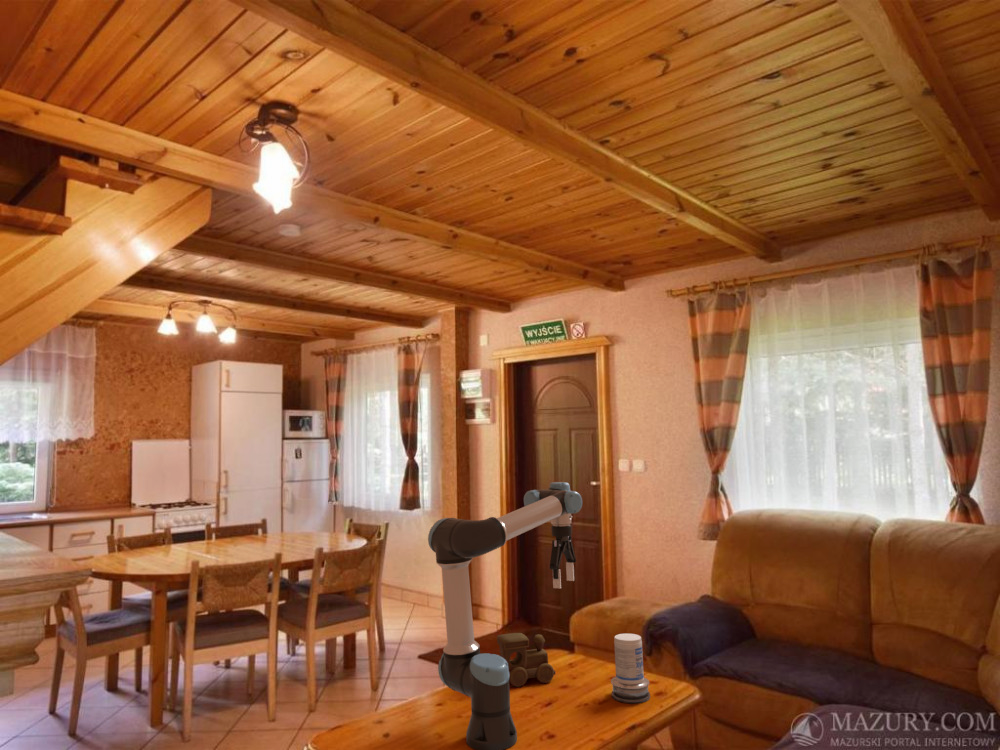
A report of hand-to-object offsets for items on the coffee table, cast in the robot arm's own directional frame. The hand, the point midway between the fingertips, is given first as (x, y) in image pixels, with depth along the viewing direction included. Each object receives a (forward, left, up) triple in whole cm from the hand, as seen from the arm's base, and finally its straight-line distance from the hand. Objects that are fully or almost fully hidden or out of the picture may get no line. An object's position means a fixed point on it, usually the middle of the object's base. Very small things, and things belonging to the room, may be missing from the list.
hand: (564, 584), depth 239 cm
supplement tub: (+17, -14, -32) cm, 39 cm away
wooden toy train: (-10, +14, -37) cm, 41 cm away
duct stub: (+17, -15, -37) cm, 43 cm away
